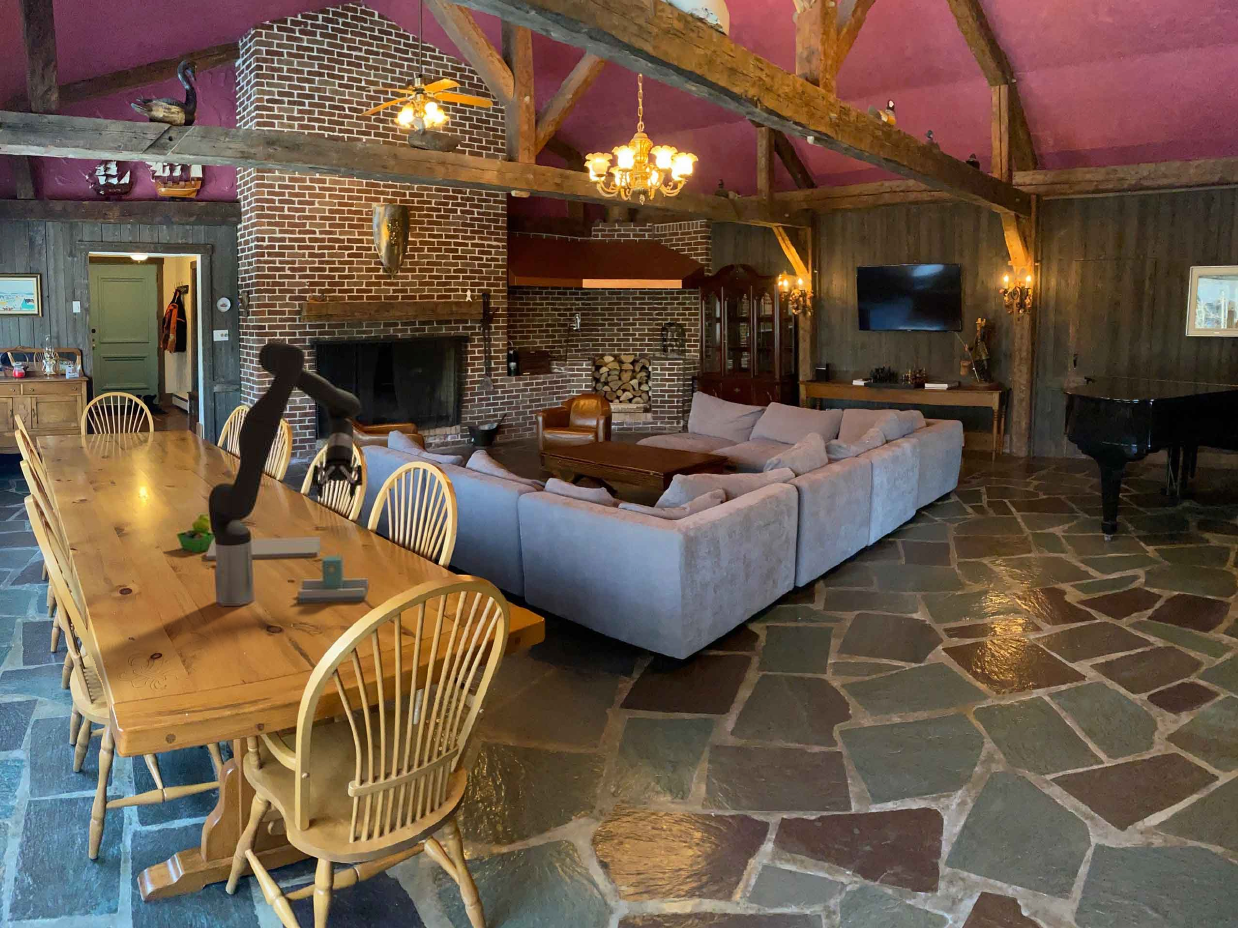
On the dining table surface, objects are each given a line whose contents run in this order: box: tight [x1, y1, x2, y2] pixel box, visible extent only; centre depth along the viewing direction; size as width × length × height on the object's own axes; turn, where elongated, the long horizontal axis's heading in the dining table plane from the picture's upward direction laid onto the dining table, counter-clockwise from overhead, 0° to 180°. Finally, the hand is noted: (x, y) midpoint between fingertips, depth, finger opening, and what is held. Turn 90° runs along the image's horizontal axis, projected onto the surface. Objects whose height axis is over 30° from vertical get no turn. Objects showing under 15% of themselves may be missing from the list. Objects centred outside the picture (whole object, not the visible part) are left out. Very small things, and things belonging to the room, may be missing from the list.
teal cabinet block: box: [321, 555, 344, 589], centre depth 267 cm, size 5×6×10 cm
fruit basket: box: [176, 513, 215, 553], centre depth 314 cm, size 11×9×11 cm
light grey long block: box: [205, 536, 322, 561], centre depth 310 cm, size 34×5×10 cm
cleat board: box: [297, 577, 370, 604], centre depth 269 cm, size 18×13×4 cm
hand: (336, 496), depth 275 cm, fingers open, 8 cm apart
